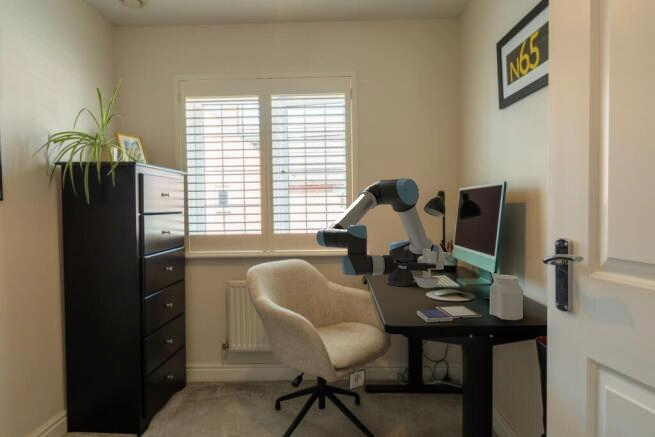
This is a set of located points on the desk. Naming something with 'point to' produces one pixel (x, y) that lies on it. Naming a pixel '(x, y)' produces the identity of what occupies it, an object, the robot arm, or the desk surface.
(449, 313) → the card sheet
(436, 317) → the ink pad
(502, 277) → the jar
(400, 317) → the desk surface
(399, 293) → the desk surface
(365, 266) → the robot arm
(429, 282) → the figurine
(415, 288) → the desk surface
